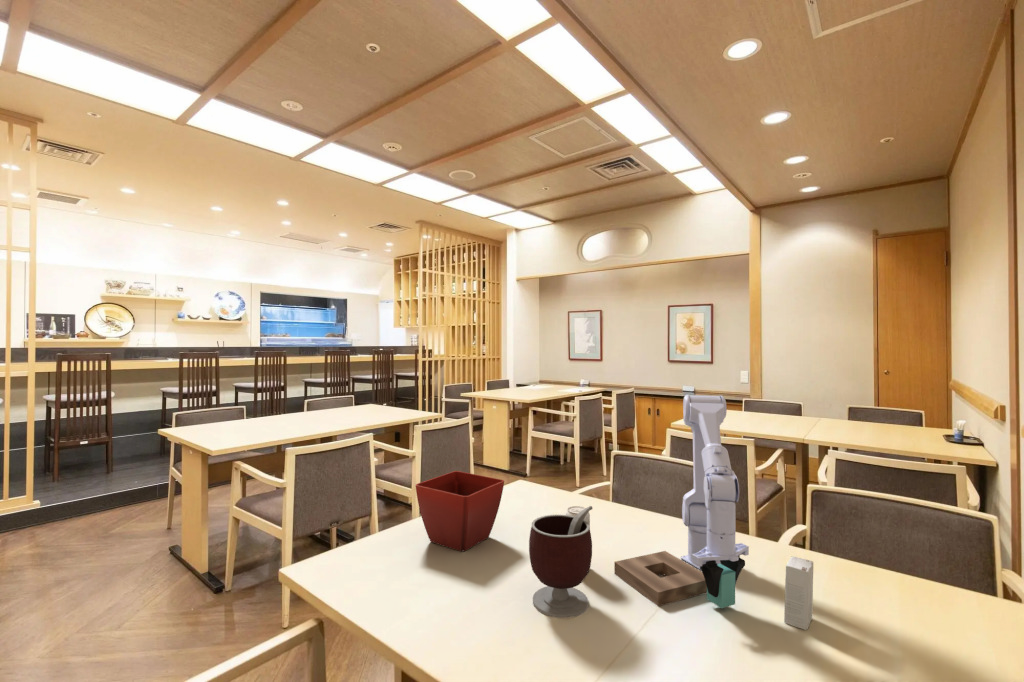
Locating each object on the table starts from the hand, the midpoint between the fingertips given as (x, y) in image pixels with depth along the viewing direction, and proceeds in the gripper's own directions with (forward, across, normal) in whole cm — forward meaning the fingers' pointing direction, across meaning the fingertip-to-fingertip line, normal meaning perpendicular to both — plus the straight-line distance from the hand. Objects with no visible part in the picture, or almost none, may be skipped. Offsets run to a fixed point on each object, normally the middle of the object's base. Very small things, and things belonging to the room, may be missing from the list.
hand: (720, 592), depth 104 cm
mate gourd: (+3, -30, +16) cm, 34 cm away
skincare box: (+4, +11, -10) cm, 15 cm away
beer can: (+4, -19, +28) cm, 34 cm away
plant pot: (+4, -41, +57) cm, 70 cm away
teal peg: (+2, 0, 0) cm, 2 cm away
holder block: (+3, -4, +14) cm, 15 cm away
